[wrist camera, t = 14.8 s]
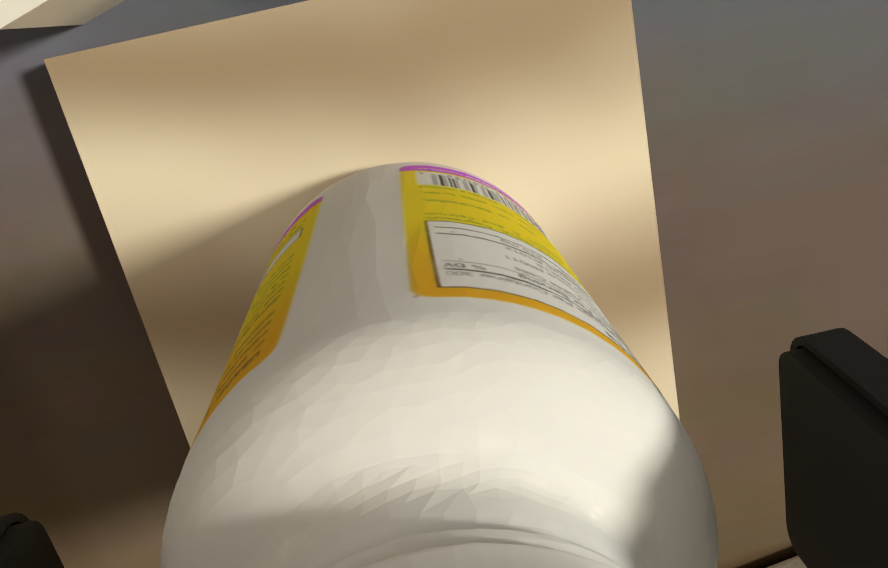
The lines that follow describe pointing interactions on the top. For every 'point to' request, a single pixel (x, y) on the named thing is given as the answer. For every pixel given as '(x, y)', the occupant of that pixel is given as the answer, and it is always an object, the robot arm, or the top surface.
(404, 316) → the supplement bottle
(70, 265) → the top surface
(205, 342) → the ash board
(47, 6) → the off-white block
